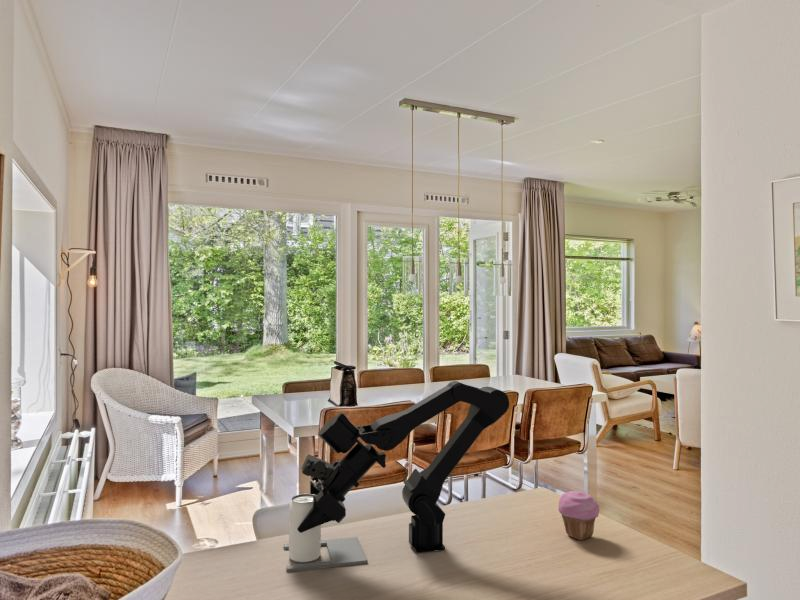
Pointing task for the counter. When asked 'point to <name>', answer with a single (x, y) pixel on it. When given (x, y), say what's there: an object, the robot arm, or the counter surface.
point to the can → (307, 542)
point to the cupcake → (578, 514)
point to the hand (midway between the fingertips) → (298, 524)
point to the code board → (335, 554)
